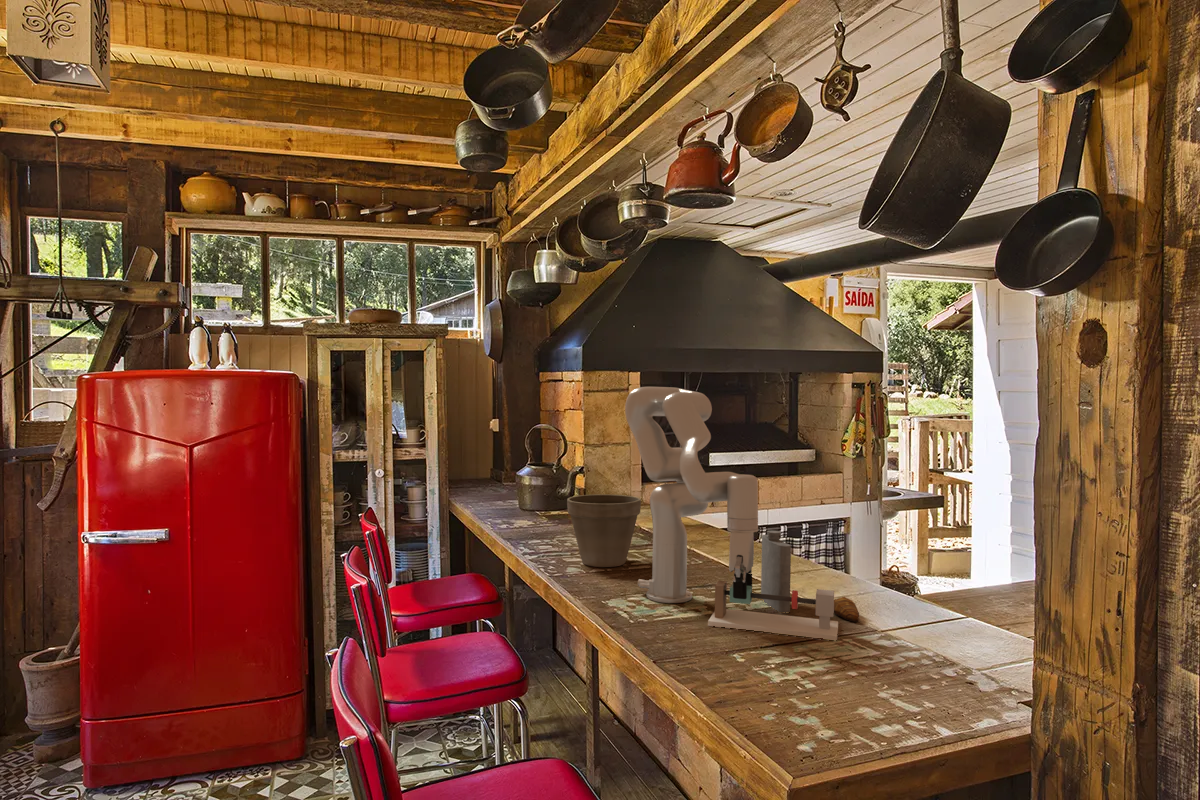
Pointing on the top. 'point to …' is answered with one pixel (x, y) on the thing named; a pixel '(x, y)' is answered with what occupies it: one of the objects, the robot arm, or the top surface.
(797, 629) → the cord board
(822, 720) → the top surface
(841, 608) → the croissant
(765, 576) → the hip flask
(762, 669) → the top surface
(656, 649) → the top surface
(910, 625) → the top surface
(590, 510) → the plant pot
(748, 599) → the sleeve
